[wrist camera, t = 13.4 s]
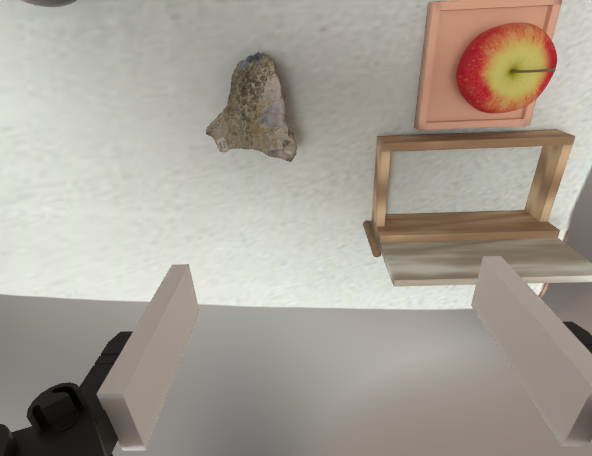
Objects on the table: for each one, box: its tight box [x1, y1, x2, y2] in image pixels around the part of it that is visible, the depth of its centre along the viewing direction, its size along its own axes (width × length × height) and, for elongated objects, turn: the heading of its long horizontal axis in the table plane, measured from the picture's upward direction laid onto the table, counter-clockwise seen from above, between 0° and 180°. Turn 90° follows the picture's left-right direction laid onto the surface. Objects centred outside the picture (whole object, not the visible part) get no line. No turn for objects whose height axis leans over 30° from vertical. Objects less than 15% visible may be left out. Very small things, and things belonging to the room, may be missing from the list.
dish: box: [414, 0, 562, 130], centre depth 40 cm, size 13×13×2 cm
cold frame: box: [363, 130, 592, 286], centre depth 41 cm, size 13×23×14 cm, turn 92°
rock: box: [206, 52, 297, 162], centre depth 40 cm, size 11×6×10 cm
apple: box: [456, 22, 557, 114], centre depth 35 cm, size 8×8×10 cm
